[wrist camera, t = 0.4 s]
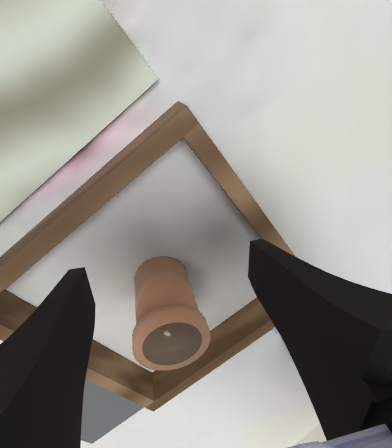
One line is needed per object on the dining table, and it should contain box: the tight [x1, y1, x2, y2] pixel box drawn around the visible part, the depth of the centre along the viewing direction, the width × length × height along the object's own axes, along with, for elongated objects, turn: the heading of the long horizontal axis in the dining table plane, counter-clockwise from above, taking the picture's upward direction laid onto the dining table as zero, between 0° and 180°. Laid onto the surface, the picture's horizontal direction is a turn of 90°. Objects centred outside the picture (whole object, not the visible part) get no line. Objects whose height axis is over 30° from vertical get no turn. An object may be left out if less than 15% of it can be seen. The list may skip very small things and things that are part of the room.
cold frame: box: [0, 0, 294, 411], centre depth 21 cm, size 30×20×3 cm
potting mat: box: [81, 380, 144, 443], centre depth 30 cm, size 10×10×1 cm
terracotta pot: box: [132, 257, 210, 371], centre depth 22 cm, size 5×5×7 cm
